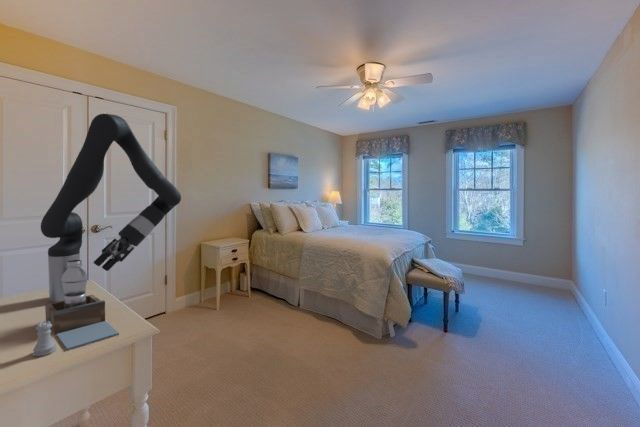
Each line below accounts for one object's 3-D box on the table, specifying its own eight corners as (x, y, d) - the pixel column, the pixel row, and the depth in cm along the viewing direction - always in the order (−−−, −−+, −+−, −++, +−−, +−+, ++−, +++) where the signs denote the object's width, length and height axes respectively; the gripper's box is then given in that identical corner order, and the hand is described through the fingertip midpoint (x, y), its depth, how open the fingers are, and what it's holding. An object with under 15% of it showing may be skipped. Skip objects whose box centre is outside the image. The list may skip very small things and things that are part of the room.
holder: (45, 322, 95) (45, 301, 94) (93, 311, 105) (92, 292, 104) (55, 335, 87) (54, 312, 87) (105, 321, 97) (105, 301, 96)
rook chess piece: (29, 358, 75) (28, 328, 75) (37, 349, 79) (36, 320, 79) (51, 355, 77) (51, 325, 77) (58, 347, 81) (58, 318, 81)
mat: (56, 335, 87) (56, 333, 87) (105, 322, 96) (105, 320, 96) (67, 350, 80) (67, 348, 80) (118, 334, 89) (118, 332, 89)
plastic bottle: (74, 327, 92) (72, 264, 91) (56, 325, 94) (54, 262, 92) (94, 319, 98) (92, 259, 97) (77, 316, 100) (75, 258, 98)
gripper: (121, 221, 110) (83, 257, 102) (137, 225, 102) (97, 264, 93) (137, 234, 115) (102, 269, 107) (153, 239, 106) (116, 277, 98)
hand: (99, 267), depth 100 cm, fingers open, 8 cm apart
